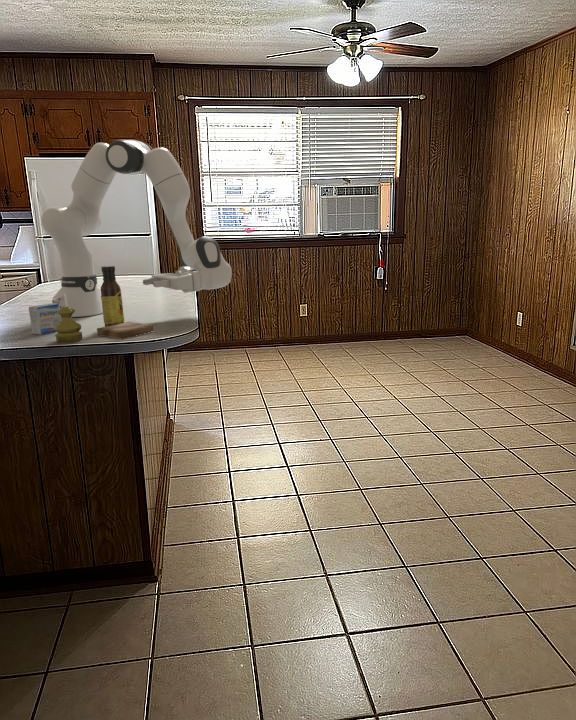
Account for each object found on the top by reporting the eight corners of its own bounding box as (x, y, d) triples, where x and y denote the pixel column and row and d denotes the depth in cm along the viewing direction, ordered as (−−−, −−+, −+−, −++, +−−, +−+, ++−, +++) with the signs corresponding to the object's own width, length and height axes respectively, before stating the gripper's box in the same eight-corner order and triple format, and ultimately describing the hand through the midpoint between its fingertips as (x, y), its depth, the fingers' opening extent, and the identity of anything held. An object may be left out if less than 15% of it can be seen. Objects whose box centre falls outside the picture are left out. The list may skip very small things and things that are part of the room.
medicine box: (40, 335, 175) (36, 307, 173) (32, 333, 177) (27, 306, 175) (62, 330, 181) (58, 303, 179) (53, 329, 184) (50, 302, 181)
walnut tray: (97, 334, 172) (96, 328, 172) (129, 327, 182) (128, 321, 181) (122, 339, 165) (122, 331, 165) (154, 331, 175) (153, 324, 174)
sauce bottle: (126, 329, 180) (119, 266, 174) (106, 331, 177) (98, 267, 172) (123, 325, 185) (116, 264, 180) (103, 327, 183) (96, 266, 178)
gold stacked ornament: (74, 343, 162) (70, 309, 159) (51, 343, 163) (46, 309, 160) (87, 337, 169) (83, 304, 166) (65, 337, 170) (60, 304, 167)
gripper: (174, 268, 199) (136, 271, 192) (199, 271, 182) (159, 275, 175) (176, 286, 201) (138, 290, 193) (201, 290, 184) (161, 295, 177)
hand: (148, 283), depth 184 cm, fingers open, 8 cm apart
